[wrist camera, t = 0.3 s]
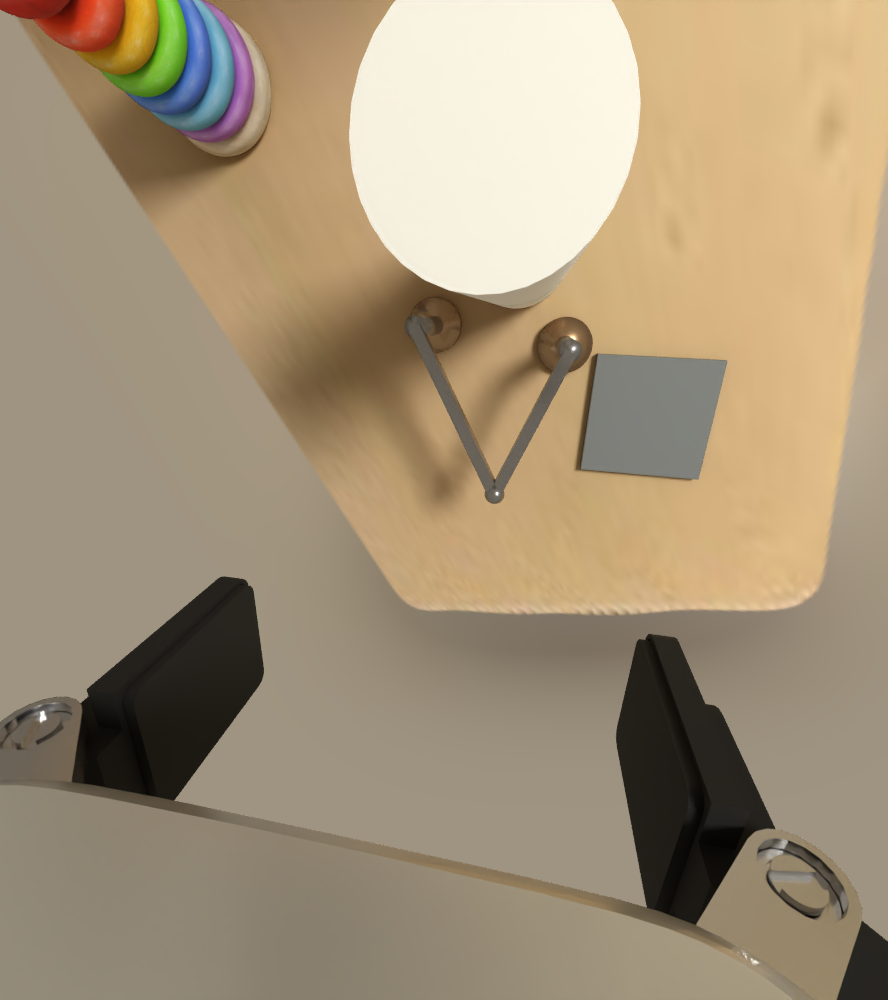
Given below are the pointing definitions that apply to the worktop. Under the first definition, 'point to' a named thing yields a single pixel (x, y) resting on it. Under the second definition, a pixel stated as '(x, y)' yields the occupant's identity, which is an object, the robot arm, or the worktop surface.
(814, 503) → the worktop surface
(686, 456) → the mat
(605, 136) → the cylindrical container
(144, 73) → the stacking toy
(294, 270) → the worktop surface
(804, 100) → the worktop surface
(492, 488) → the metal linkage
